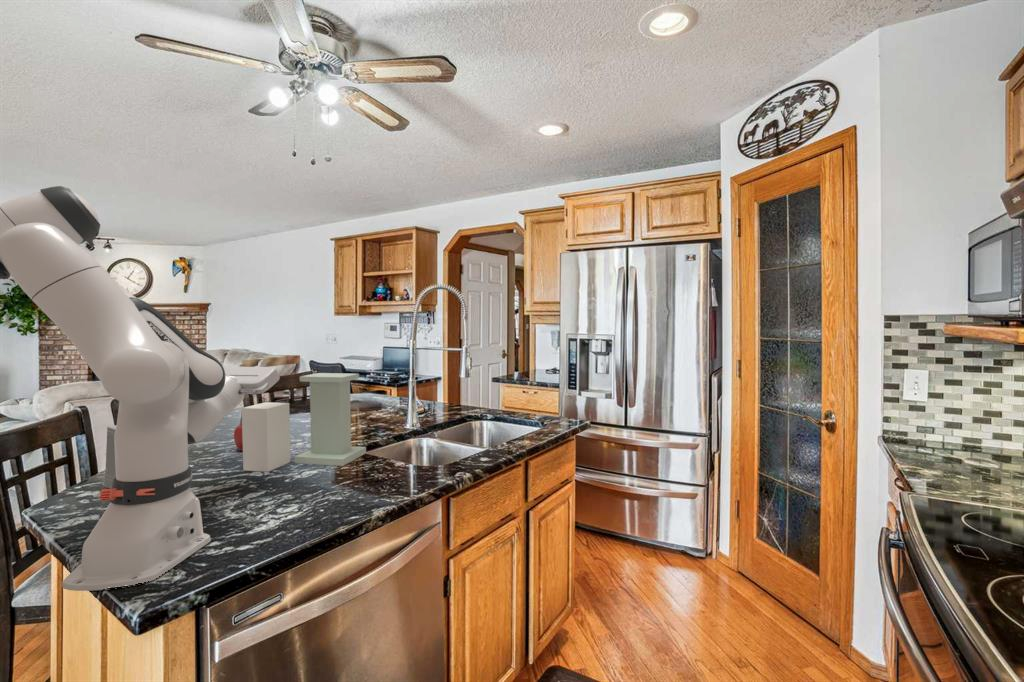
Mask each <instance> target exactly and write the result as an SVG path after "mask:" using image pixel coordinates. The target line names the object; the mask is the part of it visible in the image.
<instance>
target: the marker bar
mask: <svg viewBox="0 0 1024 682" xmlns="http://www.w3.org/2000/svg"><path fill="white" fill-rule="evenodd" d="M258 360H265V361H266V366H265V367H277V366H286V365H295V364H301V355H299V354H298V355H297V354H295V355H294V354H291V355H290V354H289V355H278V356H270V357H269V356H268V357H259V358H247V359H242V360H241V363H242V367H255V366H258V365H257V363H256V362H257V361H258Z"/></svg>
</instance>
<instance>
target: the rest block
mask: <svg viewBox="0 0 1024 682" xmlns="http://www.w3.org/2000/svg"><path fill="white" fill-rule="evenodd" d="M290 412H291V411H290V402H273V401H272V402H271V401H267V402H266V401H265V402H261V403H257V404H256V403H255V404H253V405H249V406H244V407H241V425H242V439H243V450H242V468H243V469H242V471H247V472H249V471H250V472H260V473H261V472H265V473H269V472H271V471H273V470H276V469H278V468H280V467H282V466H284V465H287V464H289V463H290V462H291V461H292V459H291V458H292V457H291V423H290V422H291V421H290V415H291V414H290Z"/></svg>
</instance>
